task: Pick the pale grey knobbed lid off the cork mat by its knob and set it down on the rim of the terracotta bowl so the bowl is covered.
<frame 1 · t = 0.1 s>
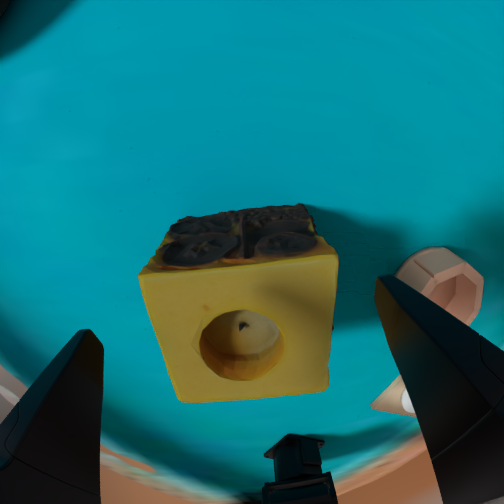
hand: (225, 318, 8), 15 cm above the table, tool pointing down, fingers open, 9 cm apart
bowl: (425, 288, 26), on the table
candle: (245, 266, 25), on the table
mat: (427, 381, 32), on the table
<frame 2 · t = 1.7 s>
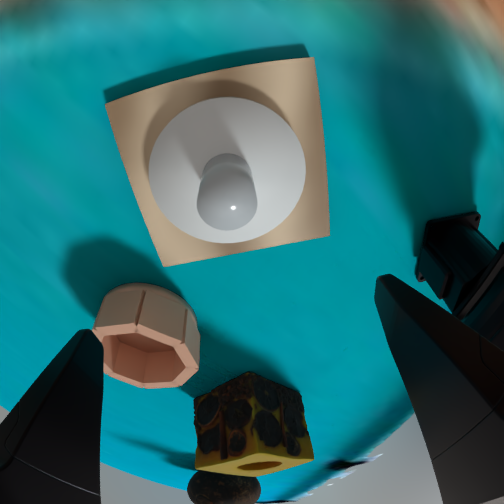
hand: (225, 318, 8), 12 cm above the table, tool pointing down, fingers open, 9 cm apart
bowl: (148, 320, 25), on the table
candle: (247, 395, 35), on the table
lid: (226, 170, 17), point 1 cm above the table, touching mat
mat: (226, 166, 18), on the table
dark brown vase: (222, 467, 60), on the table
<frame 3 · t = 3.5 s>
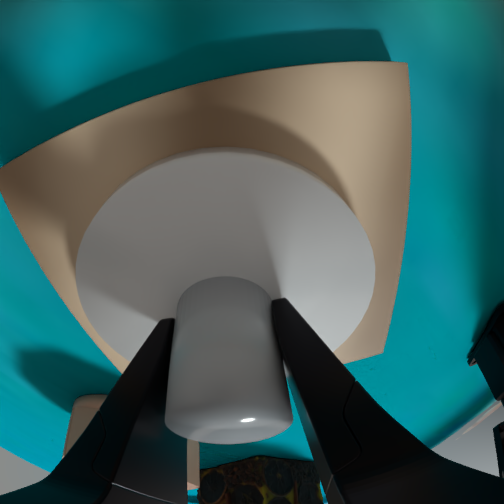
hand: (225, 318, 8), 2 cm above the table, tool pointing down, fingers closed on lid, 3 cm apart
bowl: (132, 423, 17), on the table
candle: (256, 466, 27), on the table
lid: (224, 289, 9), point 1 cm above the table, touching gripper, mat
mat: (224, 273, 10), on the table
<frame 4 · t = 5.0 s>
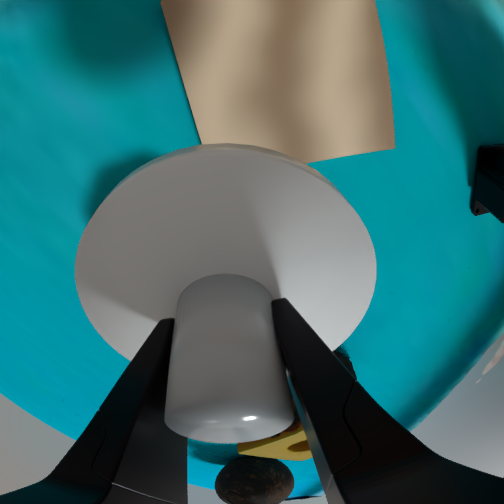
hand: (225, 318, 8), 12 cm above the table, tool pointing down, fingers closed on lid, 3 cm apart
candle: (293, 365, 32), on the table
lid: (225, 287, 9), point 11 cm above the table, touching gripper
mat: (289, 67, 15), on the table
dark brown vase: (252, 459, 57), on the table
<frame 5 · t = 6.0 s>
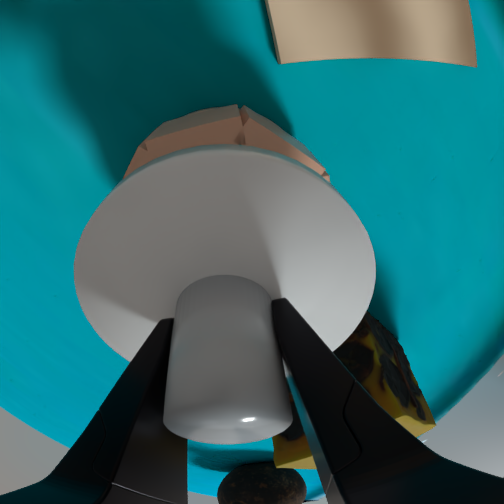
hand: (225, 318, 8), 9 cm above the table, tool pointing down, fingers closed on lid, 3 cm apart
bowl: (222, 190, 16), on the table
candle: (334, 349, 25), on the table
lid: (224, 288, 9), point 8 cm above the table, touching gripper
dark brown vase: (259, 465, 50), on the table
when the fingers open (7 cm above the table, at t = 6.5 s): lid drops 1 cm, resting on bowl.
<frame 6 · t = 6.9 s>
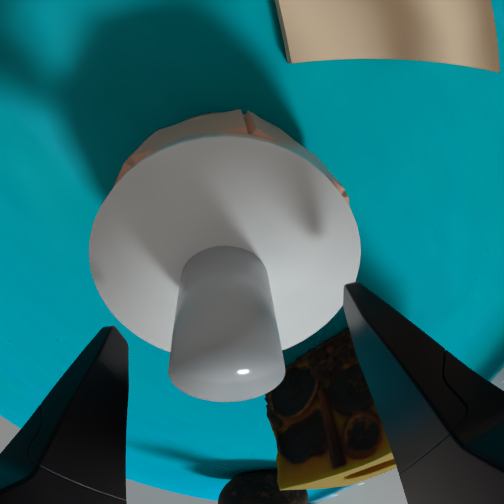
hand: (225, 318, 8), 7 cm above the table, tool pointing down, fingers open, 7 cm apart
bowl: (223, 206, 14), on the table
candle: (340, 366, 24), on the table
lid: (224, 263, 10), point 4 cm above the table, touching bowl
dark brown vase: (260, 473, 48), on the table
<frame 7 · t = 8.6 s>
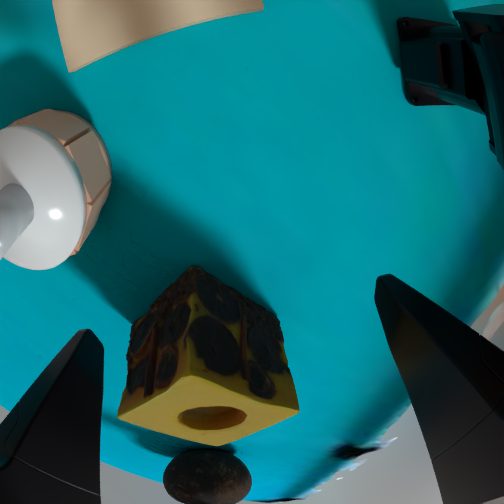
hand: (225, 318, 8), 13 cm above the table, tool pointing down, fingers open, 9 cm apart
bowl: (56, 171, 17), on the table
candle: (204, 320, 27), on the table
lid: (24, 198, 13), point 4 cm above the table, touching bowl
dark brown vase: (206, 453, 51), on the table
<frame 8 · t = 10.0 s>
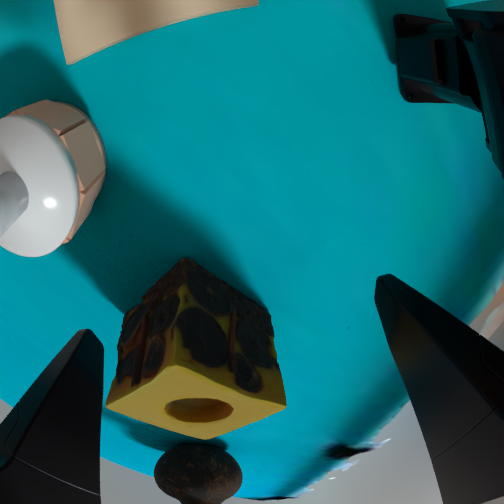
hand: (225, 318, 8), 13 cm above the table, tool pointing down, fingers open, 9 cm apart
bowl: (53, 161, 17), on the table
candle: (195, 312, 27), on the table
lid: (20, 186, 13), point 4 cm above the table, touching bowl
dark brown vase: (198, 448, 52), on the table
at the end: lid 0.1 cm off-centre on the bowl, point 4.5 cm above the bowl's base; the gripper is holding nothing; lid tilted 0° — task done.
